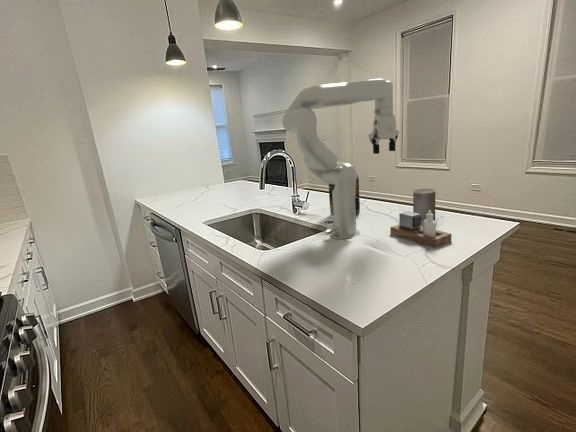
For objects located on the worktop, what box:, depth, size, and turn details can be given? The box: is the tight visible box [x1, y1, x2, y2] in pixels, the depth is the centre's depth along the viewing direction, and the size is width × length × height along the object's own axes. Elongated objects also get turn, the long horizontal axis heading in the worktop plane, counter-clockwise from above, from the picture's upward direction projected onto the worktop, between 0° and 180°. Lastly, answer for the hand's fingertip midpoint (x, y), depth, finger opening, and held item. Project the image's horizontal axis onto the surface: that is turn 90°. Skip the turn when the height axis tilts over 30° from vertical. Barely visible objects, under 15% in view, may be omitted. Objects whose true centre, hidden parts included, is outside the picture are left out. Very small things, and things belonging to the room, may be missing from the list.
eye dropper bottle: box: [422, 210, 437, 237], centre depth 120 cm, size 4×6×12 cm
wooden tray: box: [390, 224, 453, 249], centre depth 125 cm, size 10×21×4 cm, turn 29°
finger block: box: [398, 210, 422, 231], centre depth 128 cm, size 4×7×9 cm, turn 29°
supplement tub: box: [327, 165, 361, 217], centre depth 167 cm, size 16×16×26 cm
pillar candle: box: [412, 187, 436, 221], centre depth 149 cm, size 10×10×15 cm
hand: (384, 152), depth 142 cm, fingers open, 9 cm apart
